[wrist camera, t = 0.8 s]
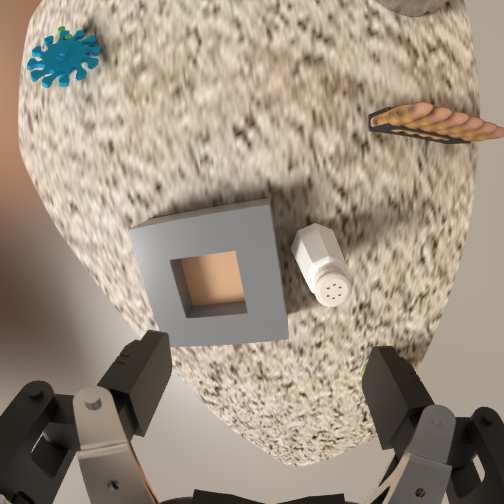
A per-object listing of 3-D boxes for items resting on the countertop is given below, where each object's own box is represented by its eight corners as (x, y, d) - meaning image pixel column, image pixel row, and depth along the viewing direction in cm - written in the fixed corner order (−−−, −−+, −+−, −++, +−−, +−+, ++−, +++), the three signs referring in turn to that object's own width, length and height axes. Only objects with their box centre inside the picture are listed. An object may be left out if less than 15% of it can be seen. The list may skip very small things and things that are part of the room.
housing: (270, 197, 29) (269, 204, 24) (287, 314, 33) (288, 339, 28) (148, 219, 31) (128, 229, 26) (178, 324, 35) (166, 346, 30)
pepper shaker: (338, 268, 31) (365, 320, 20) (290, 271, 31) (297, 325, 21) (339, 221, 29) (371, 254, 19) (289, 223, 29) (296, 258, 19)
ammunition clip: (447, 129, 24) (514, 124, 13) (447, 144, 25) (515, 145, 13) (368, 114, 25) (420, 90, 14) (368, 130, 26) (422, 116, 14)
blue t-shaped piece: (104, 73, 24) (24, 90, 18) (97, 98, 29) (28, 115, 23) (100, 18, 22) (31, 29, 16) (92, 44, 27) (31, 56, 21)
